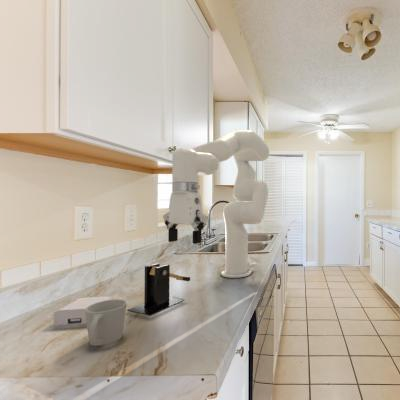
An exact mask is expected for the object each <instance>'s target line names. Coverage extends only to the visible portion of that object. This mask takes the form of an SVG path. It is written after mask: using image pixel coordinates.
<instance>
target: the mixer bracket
mask: <svg viewBox="0 0 400 400" xmlns="http://www.w3.org/2000/svg"><path fill="white" fill-rule="evenodd" d="M170 265H171V264H164V265H161V263H159V262H157V263H152V264H149V265H144V296H143V297H144V301H143V302H144V303H142V304H139V305H136V306H134V307H131V308H129V309H126V312H131V313H135V314H139V315H145V316H149V317H151V316H153V315H155V314H158V313H160V312H163V311H164V310H167V309H169V308H171V307H173V306H176V305H178V304H180V303H183V302H185V300H184V299H180V298H175V297H170V278H171V277H170V273H171V272H170V271H171V270H170V269H171V268H170ZM152 266H155V267H156V268H155V276H154V275H150V271H151V269H152Z"/></svg>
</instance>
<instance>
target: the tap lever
mask: <svg viewBox="0 0 400 400" xmlns="http://www.w3.org/2000/svg"><path fill="white" fill-rule="evenodd" d="M155 268H156V267H155V266H152V269H151V271H150V275H154V276H155ZM170 278H172V279H175V280H178V281H184V282H190V281H191V277H190V276H184V275H179V274H176V273H173V272H172V273H171V272H170Z"/></svg>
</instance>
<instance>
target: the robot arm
mask: <svg viewBox="0 0 400 400" xmlns="http://www.w3.org/2000/svg"><path fill="white" fill-rule="evenodd" d="M232 157H233V158H234V162H235V164H236V167H237V174H236V178H235V181H234V185H233V189H232V198H234V200H235V201H229V202H228V203H226V204H225V205H224V207H223V210H222V215H223V219H224V228H225V229H224V230H225V232H224V233H225V238H224V239H225V242H224V243H225V244H224V245H225V246H224V249H225V253H224V255H225V257H224V259H225V261H224V263H225V264H224V270H222V271H221V276H222V277H223V278H229V279H241V278H244V277H245V278H246V277H249V276H250V275H251V274H252V270H251V269H252V268H255V267H257V263H256V262H249V233H248V230H247V228H246V227H245V225H257V224H260V223H261V222H262V220H263V219H264V216H265V211H266V207H267V202H268V197H269V187H268V184H267V182H266V181H264V180H262V179H256V177H257V173H256V170H255V167H253V165H252V164H251V163H250V162H264V161H266V160H267V159H268V158H269V157H270V148H269V145H268V144H267V143H266V141H264V139H263V138H262V137H261V136H260V135H259V134H258V133H257V132H255V131H253V130H251V129H245V130H233V131H232V130H231V131H229V132H227V133H225V134H224V135H222V136H220V137H219V138H217V139H215V140H213V141H209V142H207V143H203V144H201V145H197V146H194V147H191V148H178V149H175V150H174V151H172V165H171V167H172V169H171V170H172V173H171V174H172V176H171V177H172V179H171V180H172V181H171V182H172V183H171V184H172V185H171V191H172V192H171V194H170V197H169V205H168V211H167V212H166V213H165V214H163V215H162V218H163V222H164V225H165V226H166V229H167V230H168V233H167V234H168V241H167V242H169V243H173V242H177V241H178V237H179V235H178V231H179V230H178V228H177V227H178V226H179V225H191V227H192V229H193V231H192V244H193V245H196V244H201V243H202V231H203V230H204V228H205V227H206V226H207V223H208V221H209V216H208V215H207V214H205V213H204V212H203V203H202V197H201V193H199V190H200V189H201V188H200V187H201V186H200V185H199V176H210V175H213V174H215V173H216V172H217V171H218V169H219V164H220V163H222V162H225V161H228V160H229V159H231V158H232Z"/></svg>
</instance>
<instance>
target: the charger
mask: <svg viewBox="0 0 400 400" xmlns="http://www.w3.org/2000/svg"><path fill="white" fill-rule="evenodd" d="M106 300H114V298H113V297H111V296H107V295H106V296H89V297H88V296H87V297H80V298H77V299H75V300H74V301H72V302H70V303H69V304H67V305H65V306H63V307H61V308H59V309H58V310H56V311H55V312H54V313H53V327H54V326H55V327H57V326H59V327H60V326H74V325H87V323H86V314H85V309H86V308H87V307H88V306H90V305H92V304H95V303H98V302H102V301H106Z"/></svg>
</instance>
